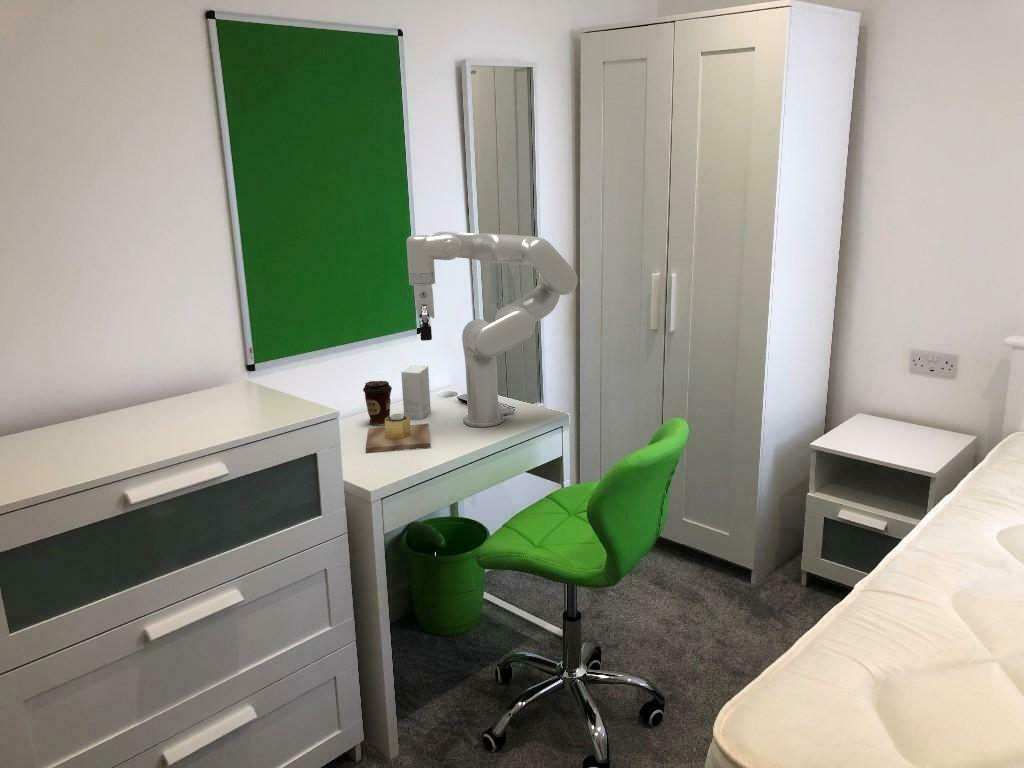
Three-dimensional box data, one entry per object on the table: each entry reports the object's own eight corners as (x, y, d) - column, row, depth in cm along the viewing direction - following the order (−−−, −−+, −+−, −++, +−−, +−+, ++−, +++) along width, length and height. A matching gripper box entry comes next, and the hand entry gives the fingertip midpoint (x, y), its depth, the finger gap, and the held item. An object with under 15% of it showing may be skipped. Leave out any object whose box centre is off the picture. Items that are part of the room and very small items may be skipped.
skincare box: (413, 411, 270) (410, 364, 266) (432, 412, 268) (429, 365, 264) (403, 419, 262) (399, 371, 258) (423, 420, 260) (419, 371, 256)
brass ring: (410, 430, 246) (409, 414, 244) (410, 438, 239) (409, 421, 238) (386, 432, 245) (385, 415, 244) (385, 439, 238) (384, 423, 237)
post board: (428, 428, 252) (427, 404, 250) (430, 447, 235) (428, 422, 233) (368, 432, 250) (366, 408, 248) (366, 452, 233) (363, 427, 231)
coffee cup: (377, 429, 253) (373, 388, 250) (360, 424, 259) (356, 383, 255) (399, 422, 259) (396, 381, 256) (382, 417, 265) (379, 377, 261)
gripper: (436, 282, 232) (440, 342, 237) (434, 274, 249) (437, 330, 253) (409, 283, 231) (413, 343, 236) (408, 275, 248) (412, 331, 252)
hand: (426, 336), depth 245 cm, fingers open, 9 cm apart
